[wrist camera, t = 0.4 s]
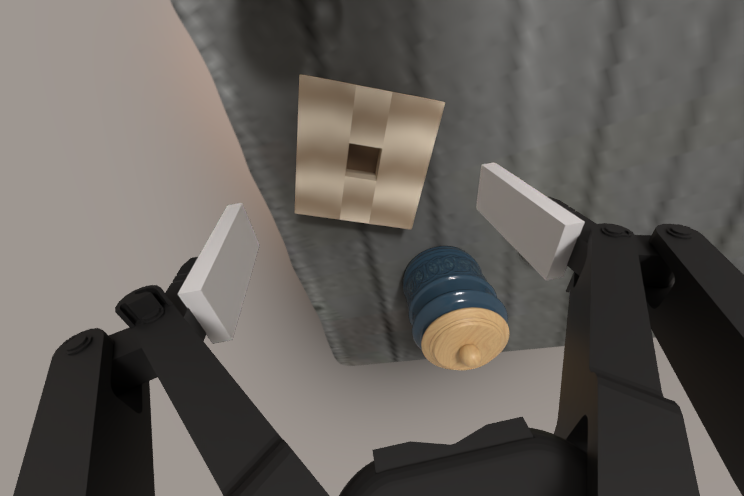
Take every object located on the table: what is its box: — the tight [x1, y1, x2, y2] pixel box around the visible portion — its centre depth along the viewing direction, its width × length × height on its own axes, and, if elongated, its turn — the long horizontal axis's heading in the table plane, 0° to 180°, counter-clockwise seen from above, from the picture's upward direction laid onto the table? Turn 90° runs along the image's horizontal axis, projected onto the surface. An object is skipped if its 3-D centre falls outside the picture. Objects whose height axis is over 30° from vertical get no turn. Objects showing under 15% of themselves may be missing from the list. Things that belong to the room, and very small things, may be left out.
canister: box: [403, 246, 509, 370], centre depth 41 cm, size 13×13×18 cm
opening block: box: [295, 74, 445, 229], centre depth 37 cm, size 16×16×4 cm
